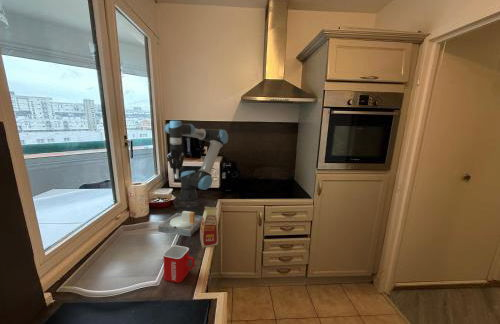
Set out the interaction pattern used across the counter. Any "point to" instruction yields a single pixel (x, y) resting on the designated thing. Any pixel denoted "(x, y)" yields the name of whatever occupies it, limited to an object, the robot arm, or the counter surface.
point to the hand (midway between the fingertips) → (176, 178)
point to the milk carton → (209, 227)
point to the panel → (189, 231)
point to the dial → (184, 220)
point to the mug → (176, 263)
